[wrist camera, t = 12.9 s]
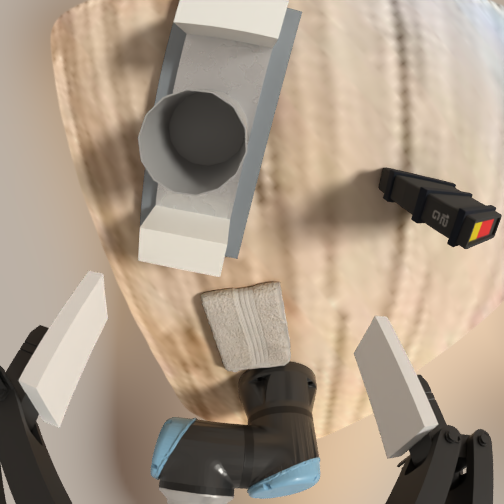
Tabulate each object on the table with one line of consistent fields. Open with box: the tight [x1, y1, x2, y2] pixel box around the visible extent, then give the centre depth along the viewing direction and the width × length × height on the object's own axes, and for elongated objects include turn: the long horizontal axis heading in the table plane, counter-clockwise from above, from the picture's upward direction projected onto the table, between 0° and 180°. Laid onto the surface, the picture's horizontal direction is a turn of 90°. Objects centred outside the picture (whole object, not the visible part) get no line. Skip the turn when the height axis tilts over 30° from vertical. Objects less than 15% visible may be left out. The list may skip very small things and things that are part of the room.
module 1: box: [138, 205, 230, 277], centre depth 33 cm, size 4×9×6 cm, turn 77°
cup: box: [138, 89, 247, 196], centre depth 25 cm, size 8×8×10 cm
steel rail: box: [156, 34, 272, 220], centre depth 30 cm, size 28×9×1 cm, turn 167°
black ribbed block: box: [379, 168, 502, 249], centre depth 30 cm, size 4×13×15 cm, turn 84°
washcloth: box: [201, 282, 291, 372], centre depth 46 cm, size 12×18×3 cm, turn 11°
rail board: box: [140, 1, 302, 259], centre depth 31 cm, size 31×13×2 cm, turn 167°
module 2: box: [174, 0, 289, 49], centre depth 21 cm, size 4×9×6 cm, turn 77°
